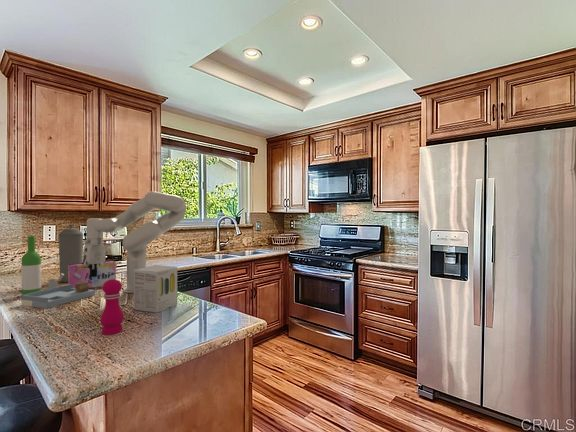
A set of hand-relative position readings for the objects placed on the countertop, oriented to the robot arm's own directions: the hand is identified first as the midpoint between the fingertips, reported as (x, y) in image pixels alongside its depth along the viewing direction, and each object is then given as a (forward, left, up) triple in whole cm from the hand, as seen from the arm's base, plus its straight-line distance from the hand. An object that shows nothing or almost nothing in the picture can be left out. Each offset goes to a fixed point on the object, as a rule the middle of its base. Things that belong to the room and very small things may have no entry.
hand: (93, 276), depth 165 cm
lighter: (+28, -1, -9) cm, 30 cm away
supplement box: (-49, +10, -9) cm, 51 cm away
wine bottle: (+26, +13, -9) cm, 31 cm away
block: (-1, +7, -6) cm, 9 cm away
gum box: (+14, -11, -9) cm, 20 cm away
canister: (+39, -18, -9) cm, 44 cm away
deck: (+3, +15, -9) cm, 18 cm away
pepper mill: (-55, +39, -9) cm, 68 cm away
